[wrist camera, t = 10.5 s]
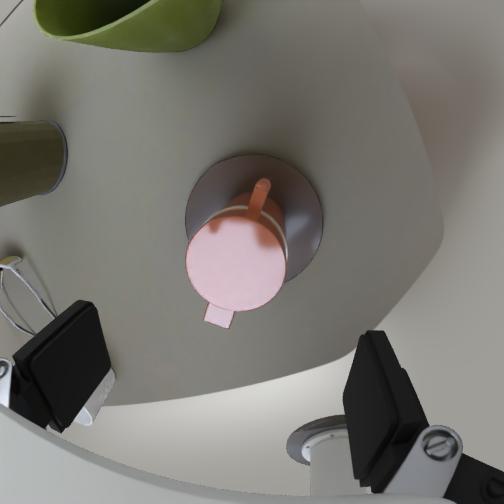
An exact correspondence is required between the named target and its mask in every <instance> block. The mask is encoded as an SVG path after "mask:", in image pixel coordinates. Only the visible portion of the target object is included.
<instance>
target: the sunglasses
mask: <svg viewBox="0 0 504 504" xmlns="http://www.w3.org/2000/svg"><path fill="white" fill-rule="evenodd" d="M20 262H22V259H21V258H20V257H17V256H11V257H7V258H4V259H2V260H0V290H1V289H2V278H3V269H4V268H7V269H9V268H10V269H11V270H12V271H13V272H14V273H15V274H16V275H17V276H18V277H20V278H21V279H22V280H23V281H24V282H25V284H26V285H27V286H28V287H29V288H30V289H31V290H32V292H33V293H34V294H35V295H36V297H37V298H38V300H39V301H40V303H41V304H42V305H43V306H44V308H45V309H46V310H47V311H48V312H49V314H50V315H51V316H52V317H53V318H54V319H55V318H56V316H55V314H54V313H53V312H52V311H51V310H50V308H49V307H48V306H47V305H46V303H45V302H44V301H43V299H42V298H41V296H40V295H39V293H38V292H37V291H36V290H35V289H34V288H33V286H32V285H31V284H30V283H29V282H28V281H27V279H26V278H25V277H24V275H23V273H22V271H20V270H19V269H18V268H17V267H16V266H15V265H16V264H18V263H20ZM0 310H1V311H2V312H3V314H4V315H5V316H6V317H7V318H8V319H9V320H10V321H11V322H12V323H13V325H14V326H16V327H17V328H18V329H20V330H21V331H23V332H25V333H27V334H29V335H31V336H35V335H36V334H34V333H32V332H30V331H28V330H26V329H24V328H22V327H21V326H19V325H18V324H17V323H16V322H15V321H14V320H13V319H12V318H11V317H10V316H9V315H8V314H7V313H6V312H5V311H4V309H3V308H2V306H1V304H0Z"/></svg>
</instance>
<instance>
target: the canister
mask: <svg viewBox="0 0 504 504" xmlns="http://www.w3.org/2000/svg"><path fill="white" fill-rule="evenodd" d="M0 117H15V116H0ZM66 161H67V146H66V141H65V137H64V135H63V132H62V130H61V129H60V127H59V126H58V125H57V124H56V123H55V122H53V121H50V120H42V121H23V122H0V207H1V206H4V205H7V204H10V203H13V202H16V201H19V200H23V199H26V198H29V197H32V196H36V195H45V194H48V193H50V192H52V191H53V190H54V189H55V188H56V187H57V186H58V184H59V183H60V181H61V179H62V177H63V175H64V172H65V167H66Z"/></svg>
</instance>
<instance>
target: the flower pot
mask: <svg viewBox="0 0 504 504" xmlns="http://www.w3.org/2000/svg"><path fill="white" fill-rule="evenodd" d="M222 2H223V0H34V9H33V12H34V19H35V23H36V25H37V27H38V28H39V30H40V31H41V32H42V33H43V34H44V35H46V36H48V37H50V38H53V39H58V40H65V41H71V42H77V43H83V44H89V45H94V46H99V47H105V48H111V49H119V50H128V51H138V52H179V51H185V50H188V49H191V48H193V47H195V46H197V45H199V44H200V43H202V42H203V41H204V40H205V39H206V38H207V37H208V36H209V35H210V33H211V32H212V30H213V29H214V27H215V24H216V22H217V19H218V16H219V13H220V10H221V6H222Z"/></svg>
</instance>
